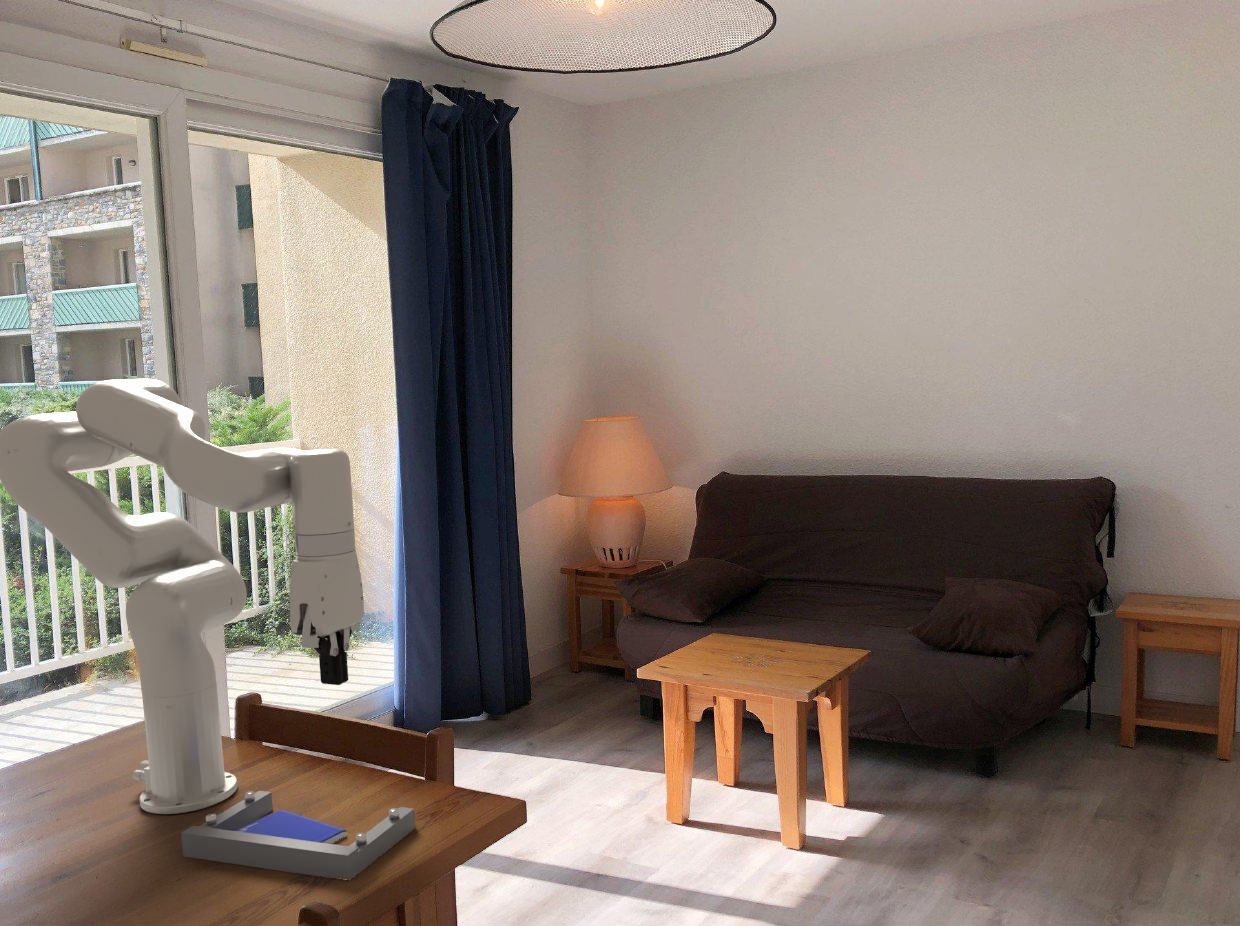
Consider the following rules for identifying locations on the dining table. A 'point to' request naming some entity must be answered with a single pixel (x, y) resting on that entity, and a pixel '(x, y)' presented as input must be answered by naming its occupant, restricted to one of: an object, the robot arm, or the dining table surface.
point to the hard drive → (294, 828)
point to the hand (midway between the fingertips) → (334, 682)
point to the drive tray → (289, 842)
